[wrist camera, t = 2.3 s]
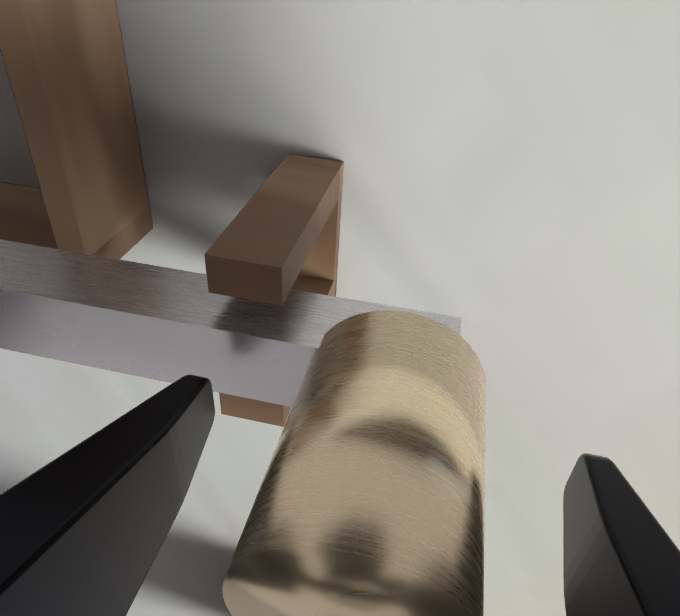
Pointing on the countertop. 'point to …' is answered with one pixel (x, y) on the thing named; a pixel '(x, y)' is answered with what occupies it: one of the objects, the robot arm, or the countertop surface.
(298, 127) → the countertop surface
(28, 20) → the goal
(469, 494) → the rod
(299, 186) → the block
